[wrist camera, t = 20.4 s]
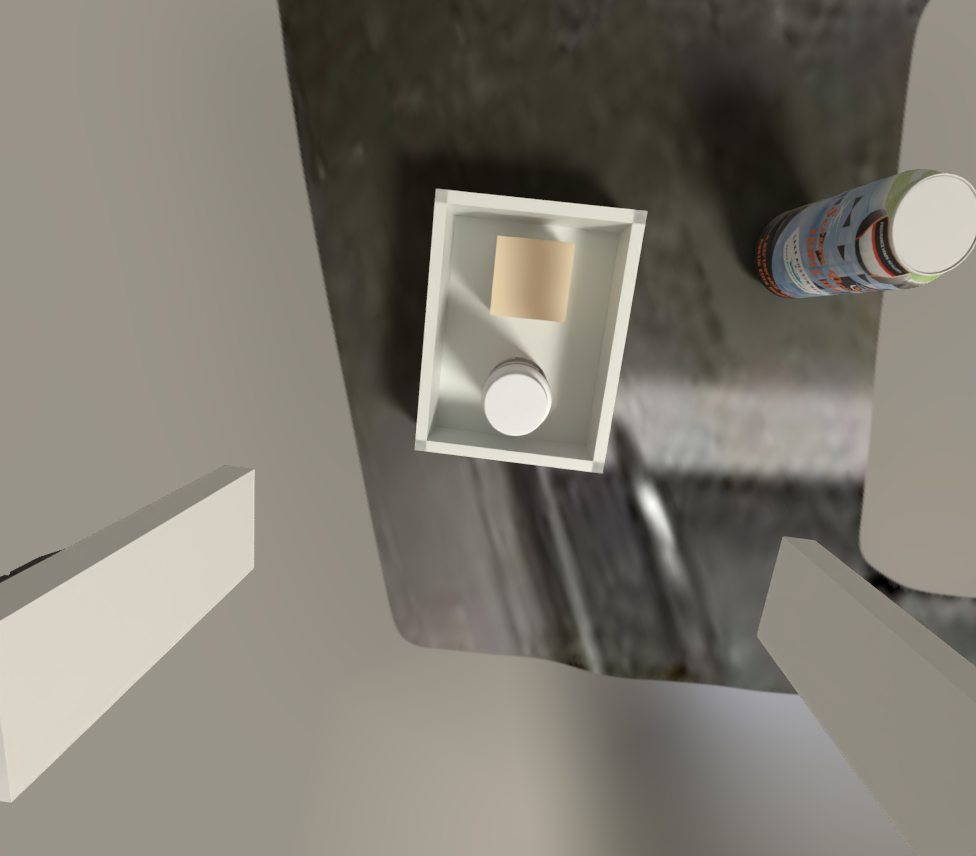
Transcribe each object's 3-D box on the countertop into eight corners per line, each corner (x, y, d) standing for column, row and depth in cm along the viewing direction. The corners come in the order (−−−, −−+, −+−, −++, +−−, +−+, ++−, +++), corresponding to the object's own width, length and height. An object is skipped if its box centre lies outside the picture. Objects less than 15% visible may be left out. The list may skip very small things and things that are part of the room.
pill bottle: (541, 421, 41) (547, 448, 32) (482, 411, 41) (473, 436, 33) (552, 361, 40) (560, 374, 31) (492, 351, 40) (484, 362, 31)
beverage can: (734, 232, 37) (832, 197, 26) (838, 189, 36) (988, 131, 25) (759, 314, 38) (863, 316, 27) (860, 274, 37) (1014, 258, 26)
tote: (446, 204, 38) (435, 188, 33) (631, 223, 38) (647, 211, 33) (427, 433, 42) (414, 449, 37) (593, 454, 42) (602, 473, 37)
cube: (493, 314, 39) (489, 314, 34) (500, 245, 38) (497, 235, 33) (559, 320, 39) (564, 322, 34) (568, 251, 38) (575, 243, 33)
